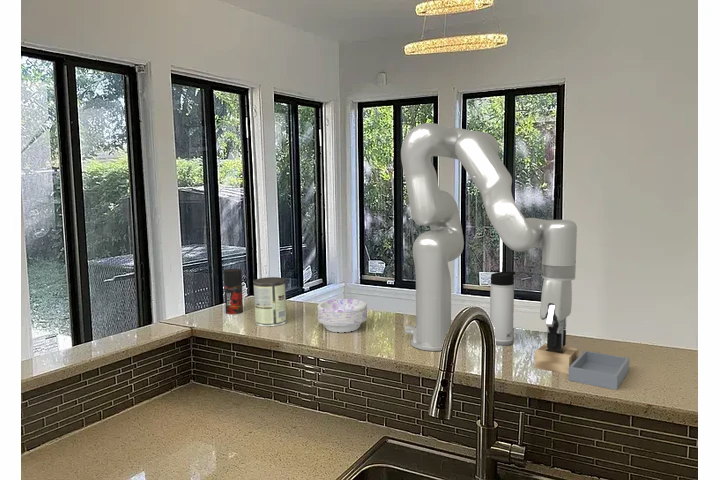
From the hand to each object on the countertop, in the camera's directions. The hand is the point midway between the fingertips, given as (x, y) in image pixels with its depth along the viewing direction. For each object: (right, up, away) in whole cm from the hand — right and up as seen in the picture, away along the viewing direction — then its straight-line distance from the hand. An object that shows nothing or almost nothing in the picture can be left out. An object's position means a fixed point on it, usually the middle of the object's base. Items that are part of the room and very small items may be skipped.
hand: (556, 346), depth 131 cm
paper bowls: (-53, -2, +36) cm, 64 cm away
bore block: (0, -5, 0) cm, 5 cm away
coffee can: (-76, -1, +45) cm, 89 cm away
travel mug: (-8, -3, +20) cm, 22 cm away
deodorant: (-92, 0, +59) cm, 109 cm away
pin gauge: (0, -4, 0) cm, 4 cm away
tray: (+8, -6, -6) cm, 11 cm away
